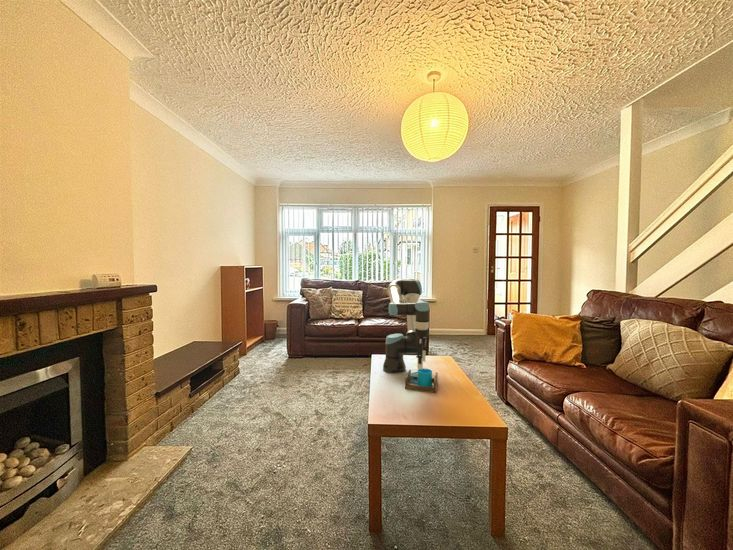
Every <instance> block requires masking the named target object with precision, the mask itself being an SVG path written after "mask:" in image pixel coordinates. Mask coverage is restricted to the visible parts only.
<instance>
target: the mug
mask: <svg viewBox="0 0 733 550" xmlns="http://www.w3.org/2000/svg"><path fill="white" fill-rule="evenodd" d="M415 374H417V377H418V382H415V381H414V380H413V376H415ZM432 378H433V370H432V369H429V368H423V369H418V368H417V371H414V372H413V373H411V380H412V381H413V382H414V383H416V384H418V386H423V387H431V386H432Z"/></svg>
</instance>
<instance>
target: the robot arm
mask: <svg viewBox="0 0 733 550" xmlns="http://www.w3.org/2000/svg"><path fill="white" fill-rule="evenodd" d="M386 291H387V294H388V296H389V300H390V302H389V303H388V314H389V315H390V316H406V324H407V332H406V333H405V336H404V334H402V333H393V334H392V333H391V334H388V335H386V338H385V359H384V362H383V365H382V369H383V371H384V372H386V373H390V374H401V373H405V372H406V370H407V369H406V368H407V366H406V363H405V360H404V355H416V357H415V358H417V370H418V369H424V367H423V365H424V364H423V363H424V362H425V363H426V356H427V355H426V352H427V351H428V349H427V337H428V336H429V335H430V332H429V327H430V321H429V318H430V306H429V305H430V304H429V301H424V300H422V301H419V299H420V297H421V295H422V293H423V289H422V283H421V281H420V279H418V278H416V279H415V278H403V279H401V278H398V279H394V280H392V281H391V282H390V283H389V284H388V286H387V288H386ZM402 296H403V298H404V300H405V302H404V301H403V298H402Z"/></svg>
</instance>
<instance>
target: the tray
mask: <svg viewBox="0 0 733 550" xmlns="http://www.w3.org/2000/svg"><path fill="white" fill-rule="evenodd" d="M411 375H412V370H411V369H409V370H408V372H407V373H406V376H405V378H404V389H405V390H409V391H410V390H411V391H421V392H428V393H436V391H437V385H438V372H435V375H434V377H432V386H431V387H423V386H418V384H416V383H414V382H413V381H412V380H411ZM413 380H414V381H415V382H418V376H415V375H413Z"/></svg>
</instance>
